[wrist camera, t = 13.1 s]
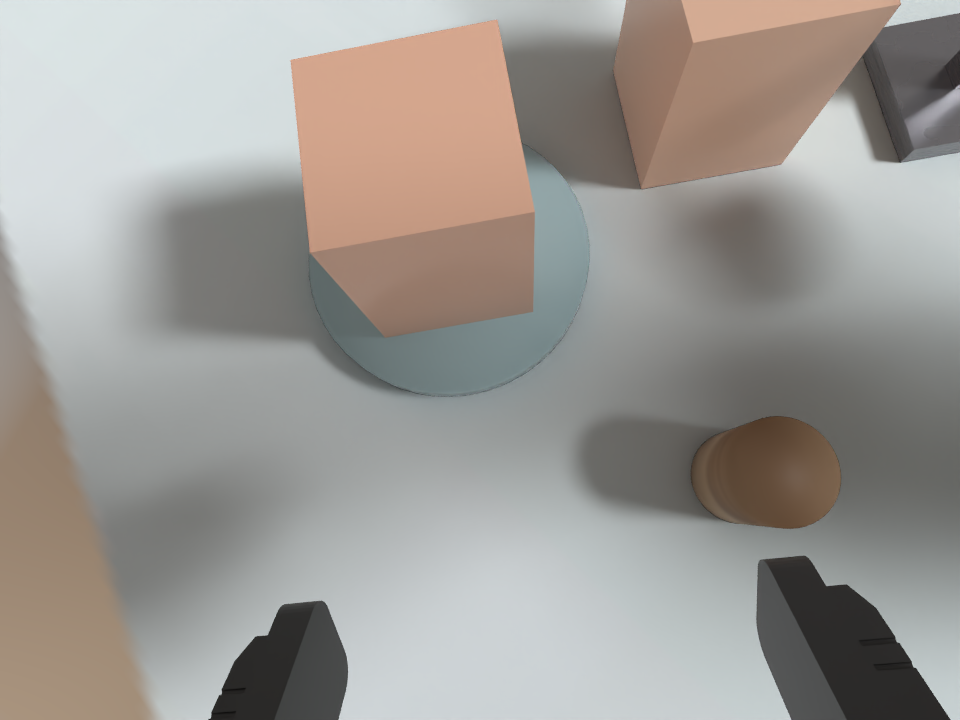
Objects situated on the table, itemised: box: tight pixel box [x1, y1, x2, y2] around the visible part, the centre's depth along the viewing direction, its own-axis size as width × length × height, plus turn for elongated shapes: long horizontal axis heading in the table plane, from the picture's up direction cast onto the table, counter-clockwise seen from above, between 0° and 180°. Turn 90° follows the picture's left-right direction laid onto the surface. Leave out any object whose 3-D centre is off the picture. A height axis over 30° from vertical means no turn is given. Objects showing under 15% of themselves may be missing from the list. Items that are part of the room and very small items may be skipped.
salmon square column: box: [613, 0, 901, 189], centre depth 24 cm, size 6×6×9 cm
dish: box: [309, 143, 589, 397], centre depth 27 cm, size 12×12×1 cm
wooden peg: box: [691, 416, 841, 529], centre depth 22 cm, size 4×4×4 cm
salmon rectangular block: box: [291, 20, 535, 338], centre depth 22 cm, size 6×6×9 cm
